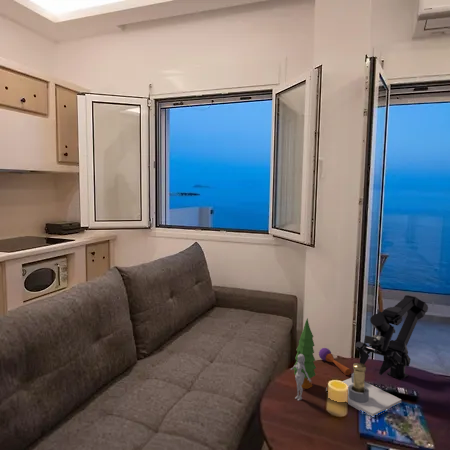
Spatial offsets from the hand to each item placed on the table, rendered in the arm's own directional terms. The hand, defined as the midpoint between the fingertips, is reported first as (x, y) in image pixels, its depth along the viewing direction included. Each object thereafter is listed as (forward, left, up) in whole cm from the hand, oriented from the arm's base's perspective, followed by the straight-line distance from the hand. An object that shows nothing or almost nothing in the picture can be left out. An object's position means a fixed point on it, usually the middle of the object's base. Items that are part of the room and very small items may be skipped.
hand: (370, 371), depth 150 cm
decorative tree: (+18, -20, -10) cm, 28 cm away
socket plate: (+5, 0, -9) cm, 11 cm away
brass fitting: (+9, +1, -8) cm, 12 cm away
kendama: (-7, -25, -10) cm, 28 cm away
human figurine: (+27, -13, -10) cm, 31 cm away
